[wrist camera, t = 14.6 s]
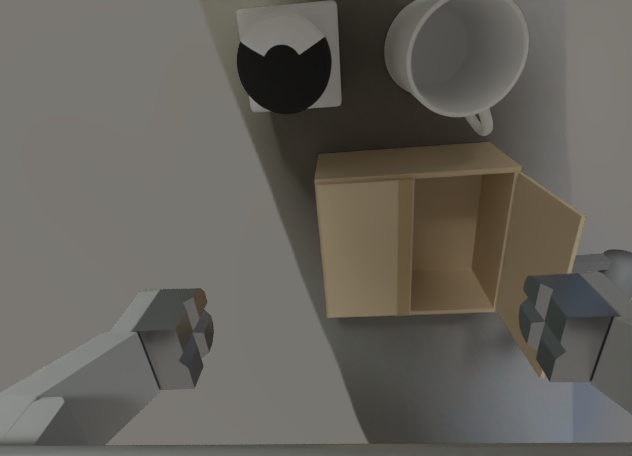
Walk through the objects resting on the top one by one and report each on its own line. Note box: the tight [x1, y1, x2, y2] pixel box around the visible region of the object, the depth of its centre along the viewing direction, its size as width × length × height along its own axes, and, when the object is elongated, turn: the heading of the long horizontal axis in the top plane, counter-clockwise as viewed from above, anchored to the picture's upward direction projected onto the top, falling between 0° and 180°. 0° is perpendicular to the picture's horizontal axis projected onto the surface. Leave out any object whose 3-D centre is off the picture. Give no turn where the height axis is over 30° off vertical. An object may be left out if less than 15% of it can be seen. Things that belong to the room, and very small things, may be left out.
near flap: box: [497, 173, 632, 379], centre depth 33 cm, size 15×9×6 cm
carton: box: [314, 142, 522, 318], centre depth 41 cm, size 16×18×8 cm
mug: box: [384, 0, 529, 136], centre depth 32 cm, size 12×8×12 cm
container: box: [237, 0, 342, 114], centre depth 32 cm, size 8×8×13 cm
